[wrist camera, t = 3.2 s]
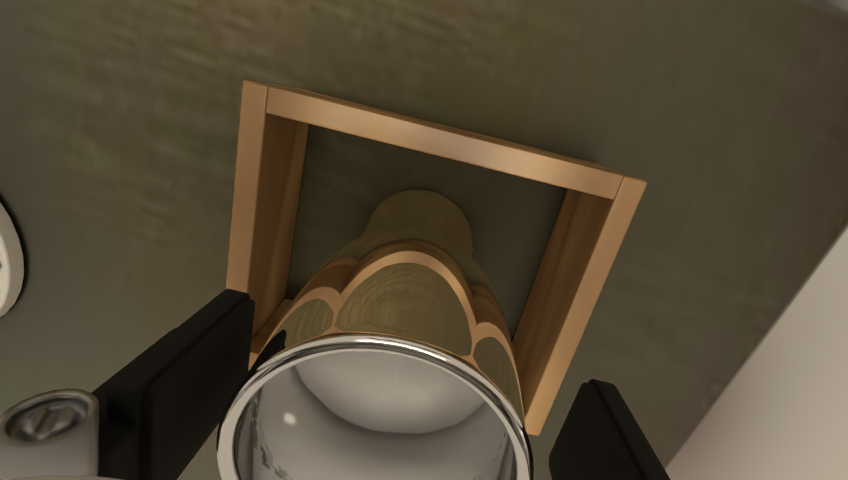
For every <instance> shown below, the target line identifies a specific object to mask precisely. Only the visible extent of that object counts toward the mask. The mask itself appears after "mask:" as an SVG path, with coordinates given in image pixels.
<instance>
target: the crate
mask: <svg viewBox="0 0 848 480" xmlns="http://www.w3.org/2000/svg"><path fill="white" fill-rule="evenodd" d="M309 124H312V125H316V126H320V127H324V128H328V129H332V130H336V131H340V132H344V133H348V134H352V135H356V136H360V137H364V138H368V139H372V140H376V141H380V142H384V143H388V144H392V145H396V146H400V147H404V148H408V149H412V150H416V151H420V152H424V153H428V154H432V155H436V156H440V157H444V158H448V159H452V160H456V161H460V162H464V163H468V164H472V165H476V166H480V167H484V168H488V169H492V170H496V171H500V172H504V173H508V174H512V175H516V176H520V177H524V178H528V179H532V180H536V181H540V182H544V183H548V184H552V185H556V186H560V187H564V188H568V190H567V192H566V195H565V198H564V201H563V203H562V206H561V209H560V212H559V214H558V217H557V220H556V223H555V225H554V228H553V231H552V234H551V236H550V239H549V242H548V245H547V247H546V250H545V253H544V256H543V258H542V261H541V264H540V267H539V269H538V272H537V275H536V278H535V280H534V283H533V286H532V289H531V291H530V294H529V297H528V300H527V302H526V305H525V308H524V311H523V313H522V316H521V319H520V322H519V324H518V327H517V330H516V333H515V335H514V338H513V341H512V346H513V351H514V355H515V359H516V364H517V370H518V377H519V383H520V389H521V396H522V403H523V411H524V419H525V425H526V431H527V433H528V434H532V435H536V436H539V434H540V432H541V430H542V427H543V425H544V423H545V420H546V418H547V416H548V413H549V411H550V409H551V406H552V404H553V402H554V399H555V397H556V395H557V392H558V390H559V388H560V385H561V383H562V381H563V378H564V376H565V374H566V371H567V369H568V367H569V364H570V362H571V360H572V357H573V355H574V353H575V350H576V348H577V346H578V343H579V341H580V339H581V336H582V334H583V332H584V329H585V327H586V325H587V322H588V320H589V318H590V315H591V313H592V311H593V308H594V306H595V304H596V301H597V299H598V297H599V294H600V292H601V290H602V287H603V285H604V283H605V280H606V278H607V276H608V273H609V271H610V269H611V266H612V264H613V262H614V259H615V257H616V255H617V252H618V250H619V248H620V245H621V243H622V241H623V238H624V236H625V234H626V231H627V229H628V227H629V224H630V222H631V220H632V217H633V215H634V213H635V210H636V208H637V206H638V203H639V201H640V199H641V196H642V194H643V192H644V189H645V187H646V185H647V182H646V181H644V180H641V179H639V178H636V177H633V176H630V175H627V174H625V173H622V172H619V171H616V170H613V169H611V168H608V167H605V166H602V165H599V164H596V163H593V162H589V161H585V160H581V159H577V158H573V157H569V156H565V155H561V154H557V153H553V152H549V151H545V150H542V149H538V148H534V147H530V146H526V145H522V144H518V143H514V142H510V141H506V140H502V139H498V138H494V137H490V136H486V135H482V134H478V133H474V132H470V131H466V130H462V129H458V128H454V127H451V126H447V125H443V124H439V123H435V122H431V121H427V120H423V119H419V118H415V117H411V116H407V115H403V114H399V113H395V112H391V111H387V110H383V109H379V108H375V107H371V106H367V105H363V104H359V103H356V102H352V101H348V100H344V99H340V98H336V97H332V96H328V95H324V94H320V93H316V92H312V91H308V90H304V89H300V88H296V87H289V86H283V85H276V84H269V83H262V82H256V81H249V80H244V81H243V86H242V98H241V110H240V122H239V134H238V146H237V159H236V171H235V183H234V195H233V207H232V219H231V231H230V243H229V255H228V267H227V279H226V289H233V290H237V291H241V292H245V293H248V294H249V295H250V299H251V300H254V301H255V313H254V322H253V331H252V340H251V350H250V359H249V368H248V369H251V367H252V365H253V364H254V362H255V360H256V358H257V357H258V355H259V353H260V351H261V350H262V348H263V346H264V344H265V343H266V341H267V339H268V338H269V336H270V335H271V333H272V331H273V330H274V328H275V326H276V325H277V323H278V322H279V320H280V318H281V317H282V315H283V314H284V312H285V311H286V310H287V308H288V307H289V305H290V304H291V303H292V301H293V300H291V299H285V294H286V287H287V280H288V273H289V266H290V258H291V251H292V244H293V237H294V229H295V222H296V215H297V208H298V201H299V193H300V186H301V179H302V172H303V165H304V157H305V150H306V143H307V136H308V128H309Z"/></svg>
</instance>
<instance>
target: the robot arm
mask: <svg viewBox="0 0 848 480" xmlns="http://www.w3.org/2000/svg"><path fill="white" fill-rule="evenodd" d="M23 277H24V261H23V252H22V248H21V244H20V240H19V237H18V234H17V232H16V230H15V227H14V225H13V223H12V221H11V218H10V217H9V215H8V213H7V212H6V210H5V209H4V207H3V205H2V204H1V202H0V317H1V316H3V315H5V314H6V313H7V312H8V310H9V309H10V308H11V307H12V306H13V305H14V304H15V302H16V300H17V297H18V295H19V293H20V291H21V288H22V282H23ZM254 313H255V301H254V300H251V299H250V295H249V294H248V293H245V292H241V291H237V290H233V289H226V290H224V291H223V292H222V293H221V294H219V295H218V296H217V297H216V298H214V299H213V300H212V301H210V302H209V303H208V304H207V305H205V306H204V307H203V308H202V309H200V310H199V311H198V312H197V313H195V314H194V315H193V316H192V317H190V318H189V319H188V320H186V321H185V322H184V323H183V324H181V325H180V326H179V327H178V328H175V329H173V330H171V331H170V332H168V333H167V334H166V335H165V336H163V337H162V338H161V339H160V340H158V341H157V342H156V343H154V344H153V345H152V346H151V347H149V348H148V349H147V350H146V351H144V352H143V353H142V354H140V355H139V356H138V357H137V358H135V359H134V360H133V361H131V362H130V363H129V364H128V365H126V366H125V367H124V368H123V369H121V370H120V371H119V372H117V373H116V374H115V375H114V376H112V377H111V378H110V379H109V380H107V381H106V382H105V383H103V384H102V385H101V386H100V387H98V388H97V389H96V390H94V391H93V392H92V393H90V392H87V391H84V390H81V389H60V390H52V391H48V392H44V393H41V394H37V395H35V396H32V397H30V398H27V399H25V400H22V401H21V402H19V403H17V404H16V405H14V406H12V407H11V408H9V409H8V410H7V411H6V412H4V413H3V414H2V415H1V416H0V480H177V478H178V477H179V476H180V474H181V473H182V472H183V470H184V469H185V468H186V466H187V465H188V464H189V462H190V461H191V460H192V458H193V457H194V456H195V454H196V453H197V452H198V450H199V449H200V448H201V446H202V445H203V444H204V442H205V441H206V440H207V438H208V437H209V436H210V434H211V433H212V432H213V430H214V429H215V428H216V426H217V425H218V424H219V422H220V420H221V417H222V414H223V412H224V409H225V407H226V405H227V403H228V401H229V399H230V397H231V396H232V394H233V393H234V391H235V390H236V389H237V387H238V386H239V385H240V384H241V382H242V381H243V380H244V379H245V377H246V375H247V374H248V368H249V359H250V350H251V340H252V331H253V322H254ZM549 468H550V472H551V476H552V480H670V478H669V477H668V475H667V473H666V471H665V470H664V468H663V466H662V465H661V463H660V461H659V459H658V458H657V456H656V454H655V453H654V451H653V449H652V447H651V446H650V444H649V442H648V441H647V439H646V437H645V436H644V434H643V432H642V430H641V429H640V427H639V425H638V424H637V422H636V420H635V419H634V417H633V415H632V413H631V412H630V410H629V408H628V407H627V405H626V403H625V401H624V400H623V398H622V396H621V395H620V393H619V391H618V390H617V388H616V386H615V385H613V384H611V383H607V382H603V381H599V380H595V379H591V380H590V381H589V382H588V383H583V384H582V385H581V387H580V389H579V391H578V393H577V396H576V398H575V400H574V402H573V404H572V407H571V409H570V411H569V413H568V415H567V418H566V420H565V422H564V424H563V427H562V429H561V431H560V433H559V435H558V438H557V440H556V442H555V444H554V446H553V449H552V451H551V453H550V457H549Z"/></svg>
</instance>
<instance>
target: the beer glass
mask: <svg viewBox="0 0 848 480" xmlns="http://www.w3.org/2000/svg"><path fill="white" fill-rule="evenodd" d="M472 248H473V238H472V231H471V227H470V224H469V222H468V220H467V218H466V216H465V215H464V213H463V212H462V211H461V209H460V208H459V207H458V206H457V205H456V204H455V203H454V202H452V201H451V200H450V199H448V198H446V197H445V196H443V195H441V194H438V193H436V192H433V191H428V190H420V189H415V190H406V191H402V192H399V193H396V194H394V195H392V196H390V197H388V198H387V199H385V200H384V201H383V202H382V203H381V204H379V205H378V207H377V208H376V209H375V210H374V211H373V213H372V215H371V216H370V218H369V220H368V222H367V225H366V228H365V233H364V235H362V236H361V237H359V238H357V239H356V240H354V241H352V242H351V243H349V244H348V245H346V246H345V247H344V248H343V249H341V250H340V251H339V252H337V253H336V254H335V255H334V256H332V257H331V258H330V259H329V260H327V261H326V262H325V263H324V264H323V265H322V266H321V267H320V268H319V269H318V271H317V272H316V273H315V274H314V275H313V276H312V277H311V278H310V280H309V281H308V282H307V283H306V284H305V285H304V286H303V288H302V289H301V290H300V291H299V293H298V294H297V296H296V297H295V298H294V300H293V301H292V303H291V304H290V305H289V307H288V308H287V310H286V311H285V312H284V314H283V315H282V317H281V318H280V320H279V322H278V323H277V325H276V326H275V328H274V330H273V331H272V333H271V335H270V336H269V338H268V339H267V341H266V343H265V344H264V346H263V348H262V350H261V351H260V353H259V355H258V357H257V358H256V360H255V362H254V364H253V365H252V367H251V369H250V370H249V372H248V374H247V375H246V377H245V379H244V380H243V381H242V382H241V384H240V385H239V386H238V387H237V389H236V390H235V391H234V393H233V394H232V396H231V397H230V399H229V401H228V403H227V405H226V407H225V409H224V412H223V414H222V417H221V420H220V423H219V427H218V432H217V443H216V451H217V462H218V467H219V472H220V476H221V479H222V480H533V470H534V467H533V455H532V450H531V445H530V442H529V439H528V435H527V431H526V425H525V419H524V411H523V403H522V396H521V389H520V383H519V377H518V370H517V364H516V359H515V355H514V351H513V346H512V342H511V338H510V333H509V329H508V326H507V323H506V320H505V317H504V315H503V312H502V309H501V306H500V303H499V301H498V298H497V296H496V294H495V292H494V290H493V288H492V286H491V285H490V283H489V281H488V279H487V278H486V276H485V274H484V272H483V271H482V269H481V268H480V266H479V265H478V264H477V262H476V261H475V260H474V258H473V257H472V256H471V254H472Z"/></svg>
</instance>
